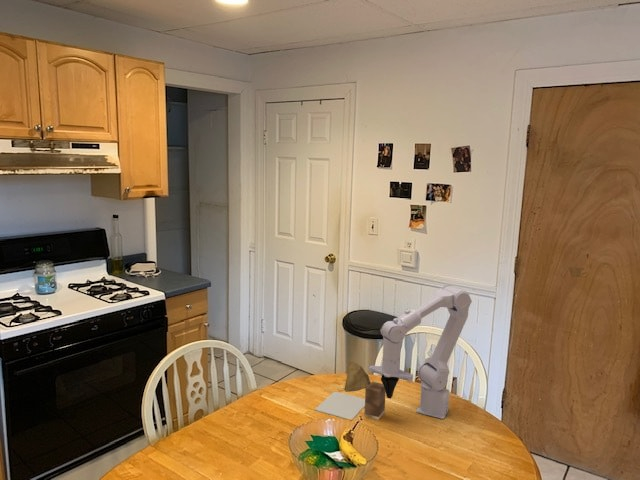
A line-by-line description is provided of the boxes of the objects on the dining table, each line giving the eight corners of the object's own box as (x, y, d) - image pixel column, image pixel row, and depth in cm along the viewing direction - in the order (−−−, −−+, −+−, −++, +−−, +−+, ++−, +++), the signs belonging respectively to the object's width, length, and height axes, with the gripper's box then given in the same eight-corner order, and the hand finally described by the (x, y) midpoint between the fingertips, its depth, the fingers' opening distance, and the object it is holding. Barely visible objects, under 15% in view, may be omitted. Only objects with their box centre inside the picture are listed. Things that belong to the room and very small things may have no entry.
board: (369, 400, 173) (369, 400, 173) (351, 420, 159) (351, 419, 159) (334, 392, 179) (334, 391, 179) (314, 410, 165) (314, 409, 165)
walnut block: (384, 412, 165) (385, 384, 164) (378, 420, 160) (379, 391, 158) (371, 408, 167) (372, 381, 166) (364, 416, 162) (365, 388, 161)
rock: (372, 375, 189) (347, 370, 190) (375, 364, 183) (349, 359, 184) (368, 401, 182) (342, 395, 183) (371, 390, 176) (344, 384, 177)
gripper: (366, 357, 158) (364, 396, 160) (409, 366, 152) (407, 407, 153) (374, 350, 164) (372, 388, 166) (415, 359, 158) (413, 398, 160)
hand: (389, 396), depth 160 cm, fingers closed
